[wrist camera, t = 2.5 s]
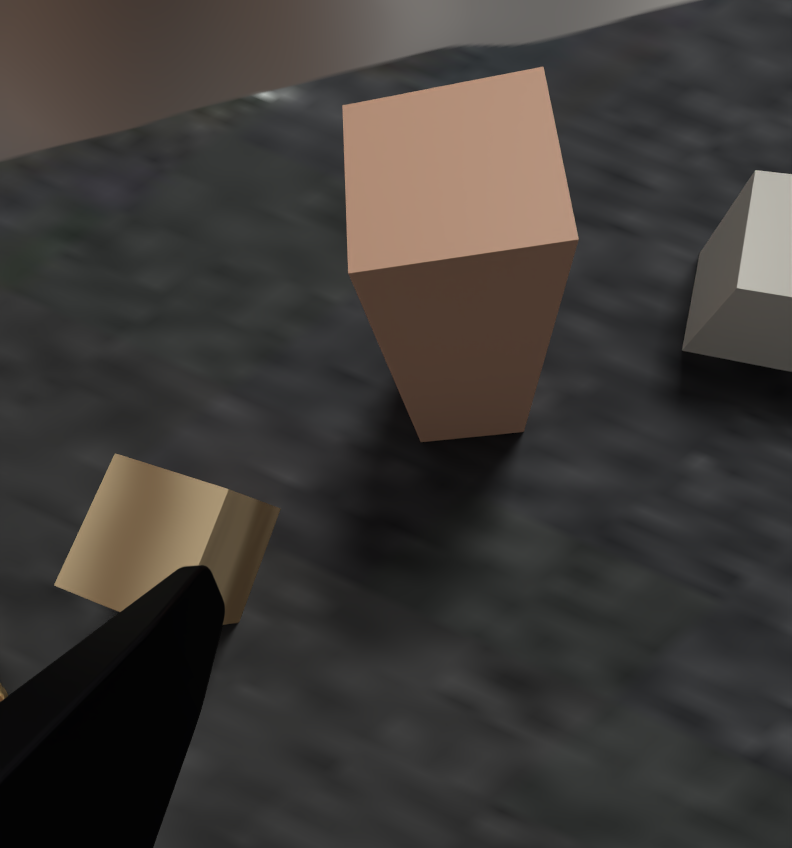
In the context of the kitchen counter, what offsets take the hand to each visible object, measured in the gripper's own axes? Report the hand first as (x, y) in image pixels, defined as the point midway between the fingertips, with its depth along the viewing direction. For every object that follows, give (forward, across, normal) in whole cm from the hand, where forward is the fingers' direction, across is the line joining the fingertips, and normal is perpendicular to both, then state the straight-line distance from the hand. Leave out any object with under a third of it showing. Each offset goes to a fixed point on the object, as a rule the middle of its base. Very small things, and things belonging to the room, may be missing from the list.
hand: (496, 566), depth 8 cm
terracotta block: (+15, 0, +4) cm, 16 cm away
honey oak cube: (+11, +12, +8) cm, 18 cm away
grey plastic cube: (+17, -13, +2) cm, 21 cm away
